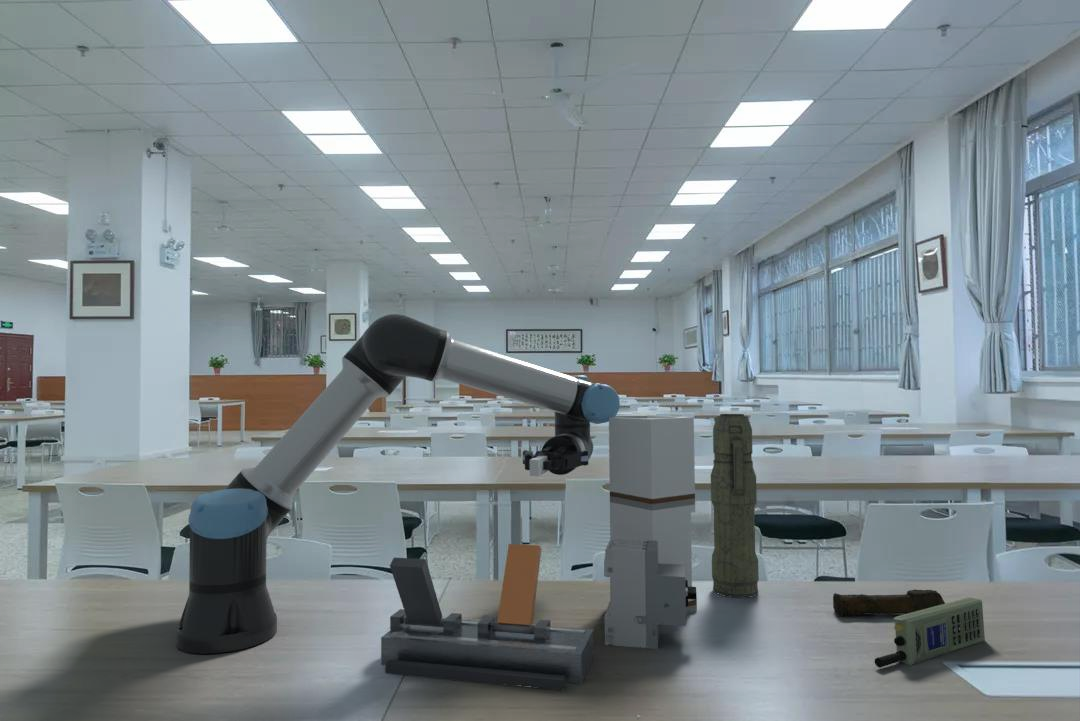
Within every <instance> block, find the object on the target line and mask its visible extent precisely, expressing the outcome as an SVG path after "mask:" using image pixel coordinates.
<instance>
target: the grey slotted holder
mask: <svg viewBox="0 0 1080 721" xmlns="http://www.w3.org/2000/svg"><path fill="white" fill-rule="evenodd" d="M462 614H463V613H458V612H457V613H456V612H455V613H454V612H451V613H450V614H449V615H447V617H445V618H444V617H442V619H444V620H443V627H432V626H420V625H407V624H405V619H406V614H405V611H404V608H403V609H402V608H400V609H399V610H397V611H396V612H395V613H393V614H392V615H391V616H390V617H389V623H390V624H389V625H390V626H389V631H387V632H386V633H385V634H384V635H382V636H381V637H380V642H381V643H380V658H381V659H380V662H381V663H380V665H382V666H385V663H386V662H388V661H389V660H398V661H409V662H420V663H431V664H442V665H453V666H463V667H474V668H485V669H496V670H507V671H518V672H529V673H539V674H550V675H561V676H565V683H569V682H572V683H571V684H579V683H582V684H583V682H582V681H584V679H585V677H586V675H587V672H588V670H589V668H590V665H591V662H592V661H593V658H594V629H593V628H592V629H590V628H580V627H579V628H578V627H577V628H576V627H566V626H564V627H563V626H553V625H551V619H539V620H538V622H537V623H536V624H532V626H535V627H534V634H522V633H509V632H496V631H493V630H492V626H493V623H497V621H496V616H495V615H484V616H483V617H482V618H481V619H480V620H475V619H474V620H473V619H462V617H463V616H462ZM588 667H589V668H588ZM585 674H586V675H585ZM584 676H585V677H584Z"/></svg>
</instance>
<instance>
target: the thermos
mask: <svg viewBox="0 0 1080 721" xmlns="http://www.w3.org/2000/svg"><path fill="white" fill-rule="evenodd" d="M712 446H713V447H712V451H713V455H714V459H713V467H712V470H711V473H710V502H711V504H712V506H713V540H714V541H713V545H714V548H713V549H714V550H713V551H712V555H711V578H712V581H713V582H712V591H713V590H714V591H715V592H716V593H715V592H714V591H713V592H714V593H715V594H717V593H719V594H722V595H725V596H724V597H727V596H731V597H730V598H734V597H739V598H738V599H741V598H740V597H747V598H751V597H750V596H753V597H755V596H754V595H756V596H757V595H758V594H759V588H758V583H759V580H760V579H759V578H760V577H759V576H760V575H759V573H760V572H759V559H758V558H759V557H758V556H757V554H756V529H755V525H756V523H755V520H756V519H755V507H756V505H757V502H758V500H757V499H758V498H757V497H758V496H757V495H758V494H757V476H756V471H755V469H754V462H753V460H752V459H753V458H752V454H753V429H752V425H751V422H750V419H749V416H747V415H745V414H744V413H720V415H718V416H716V418H715V421H714V424H713V427H712ZM757 593H758V594H757ZM719 594H718V595H719ZM722 595H721V596H722Z"/></svg>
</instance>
